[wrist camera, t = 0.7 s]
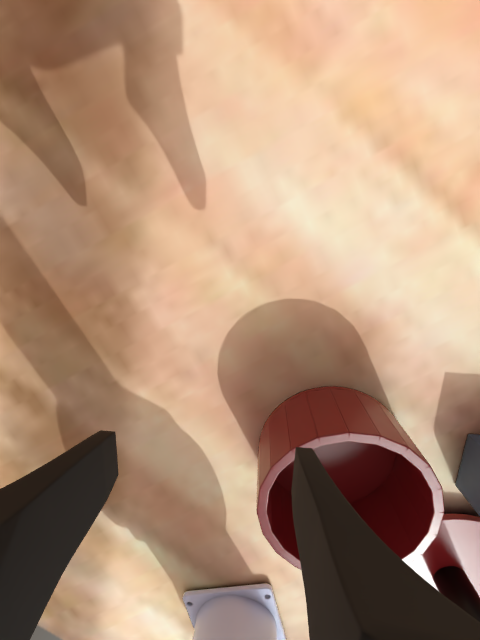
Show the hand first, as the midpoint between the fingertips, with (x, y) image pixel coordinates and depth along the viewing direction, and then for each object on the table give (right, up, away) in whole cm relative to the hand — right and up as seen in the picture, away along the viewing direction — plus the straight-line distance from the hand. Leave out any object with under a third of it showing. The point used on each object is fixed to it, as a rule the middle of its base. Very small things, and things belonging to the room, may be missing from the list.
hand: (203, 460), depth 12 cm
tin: (+8, -4, +11) cm, 14 cm away
